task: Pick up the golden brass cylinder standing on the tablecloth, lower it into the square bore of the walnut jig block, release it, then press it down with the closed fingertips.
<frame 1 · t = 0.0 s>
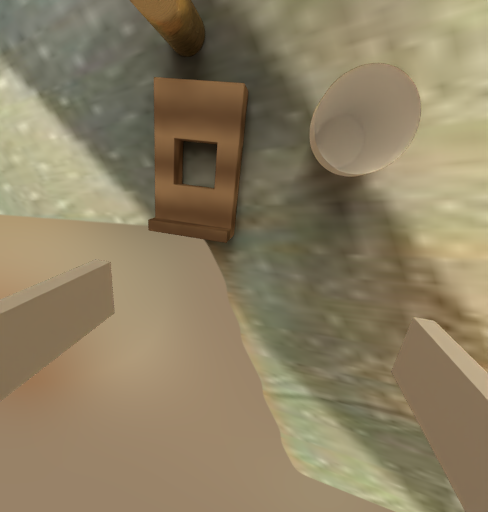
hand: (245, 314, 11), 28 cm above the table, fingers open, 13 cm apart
golden brass cylinder: (186, 33, 31), on the table
jig: (201, 165, 36), on the table
cup: (338, 141, 32), on the table
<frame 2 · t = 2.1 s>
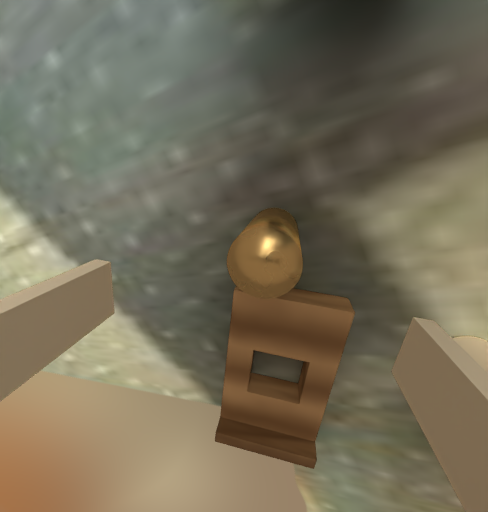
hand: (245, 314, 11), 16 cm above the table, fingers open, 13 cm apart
golden brass cylinder: (273, 231, 25), on the table
jig: (278, 358, 30), on the table
cup: (459, 359, 26), on the table
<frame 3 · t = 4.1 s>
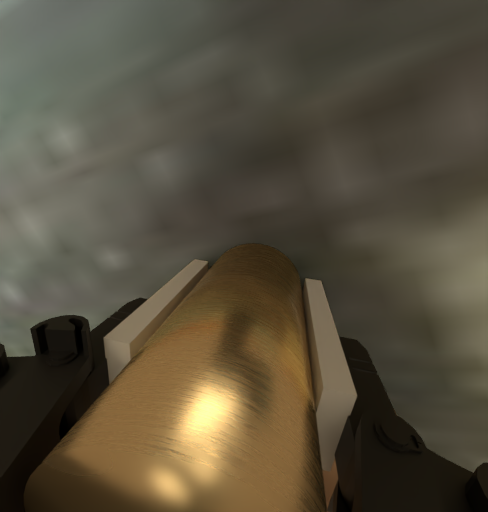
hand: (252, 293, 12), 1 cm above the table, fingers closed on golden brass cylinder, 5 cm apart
golden brass cylinder: (254, 287, 13), on the table, touching gripper
jig: (266, 486, 18), on the table
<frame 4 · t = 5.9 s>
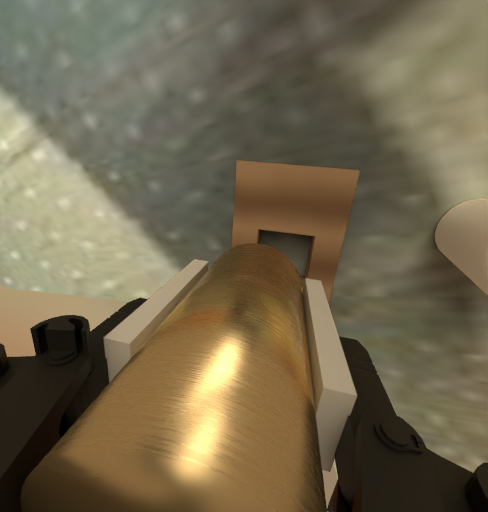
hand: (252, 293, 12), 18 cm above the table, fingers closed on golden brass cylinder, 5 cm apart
golden brass cylinder: (253, 287, 13), point 17 cm above the table, touching gripper
jig: (283, 250, 30), on the table
cup: (468, 230, 25), on the table
when the fingers open (3 cm above the table, at t = 8.2 s): golden brass cylinder drops 3 cm, resting in jig.
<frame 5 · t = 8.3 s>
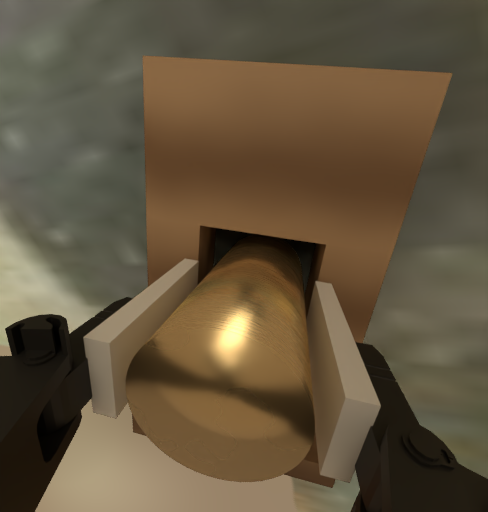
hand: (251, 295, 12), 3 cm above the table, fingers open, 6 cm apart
golden brass cylinder: (262, 271, 15), resting in jig
jig: (259, 270, 15), on the table
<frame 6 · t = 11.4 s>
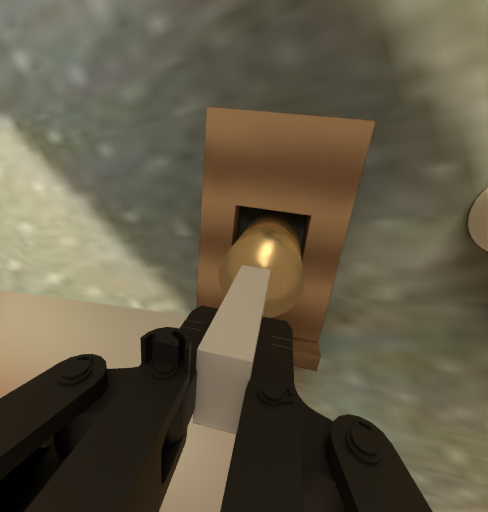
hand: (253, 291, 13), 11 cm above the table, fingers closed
golden brass cylinder: (271, 238, 23), resting in jig
jig: (269, 238, 23), on the table
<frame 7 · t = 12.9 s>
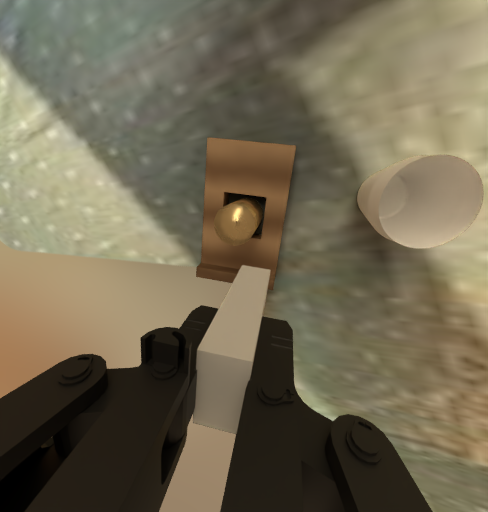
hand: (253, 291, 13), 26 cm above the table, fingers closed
golden brass cylinder: (247, 213, 38), resting in jig
jig: (246, 213, 38), on the table
cup: (381, 195, 34), on the table
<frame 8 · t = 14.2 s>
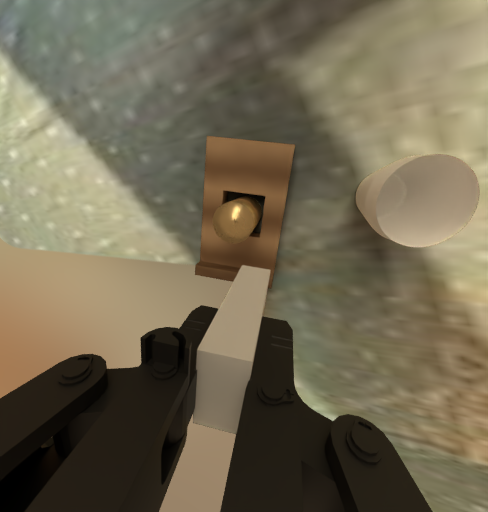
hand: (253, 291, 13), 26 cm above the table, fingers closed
golden brass cylinder: (246, 212, 38), resting in jig
jig: (245, 211, 38), on the table
cup: (379, 195, 34), on the table
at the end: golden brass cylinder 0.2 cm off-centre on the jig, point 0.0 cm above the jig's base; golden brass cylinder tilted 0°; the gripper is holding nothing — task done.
